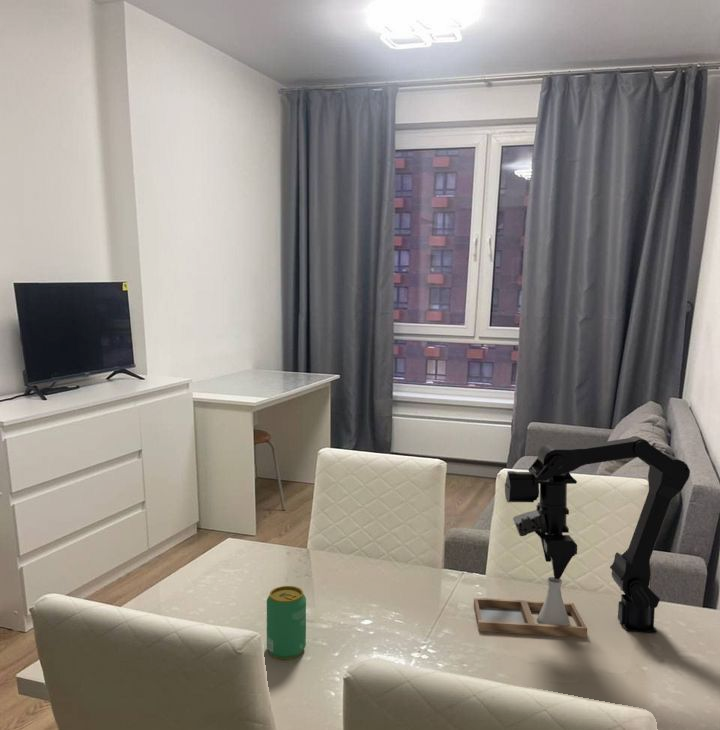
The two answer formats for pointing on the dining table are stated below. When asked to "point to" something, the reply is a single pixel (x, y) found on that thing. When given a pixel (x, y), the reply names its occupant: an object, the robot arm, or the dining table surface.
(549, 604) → the flask
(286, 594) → the beverage can
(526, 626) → the caddy
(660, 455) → the robot arm
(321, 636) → the dining table surface
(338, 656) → the dining table surface
